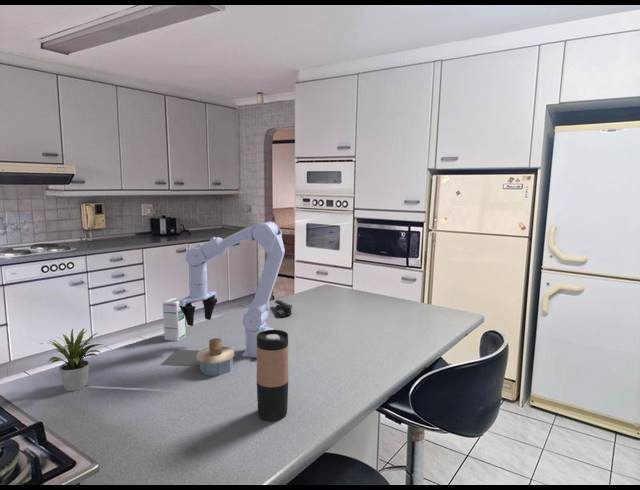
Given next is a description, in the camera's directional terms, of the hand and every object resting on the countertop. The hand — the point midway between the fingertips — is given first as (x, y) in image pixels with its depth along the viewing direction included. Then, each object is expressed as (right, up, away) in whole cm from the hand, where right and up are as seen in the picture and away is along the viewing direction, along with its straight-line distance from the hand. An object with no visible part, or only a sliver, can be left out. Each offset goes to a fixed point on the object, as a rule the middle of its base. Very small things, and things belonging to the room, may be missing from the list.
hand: (199, 322), depth 138 cm
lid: (+10, -7, -16) cm, 20 cm away
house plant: (-26, -13, -28) cm, 40 cm away
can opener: (+24, -4, +45) cm, 51 cm away
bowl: (+10, -12, -15) cm, 22 cm away
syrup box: (-12, -8, +10) cm, 17 cm away
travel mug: (+29, -15, -38) cm, 51 cm away
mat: (-2, -11, -8) cm, 13 cm away
